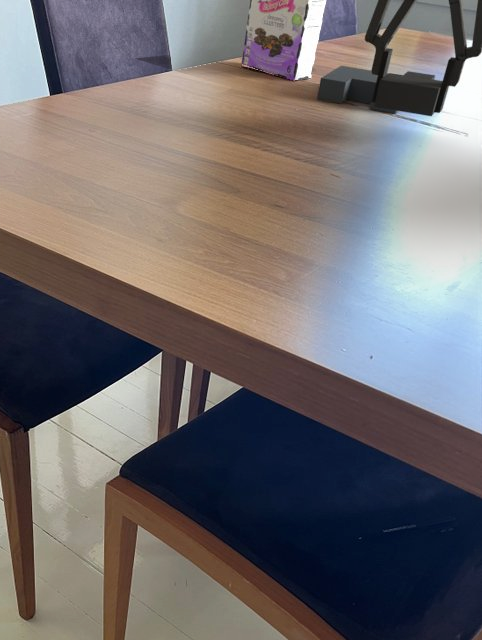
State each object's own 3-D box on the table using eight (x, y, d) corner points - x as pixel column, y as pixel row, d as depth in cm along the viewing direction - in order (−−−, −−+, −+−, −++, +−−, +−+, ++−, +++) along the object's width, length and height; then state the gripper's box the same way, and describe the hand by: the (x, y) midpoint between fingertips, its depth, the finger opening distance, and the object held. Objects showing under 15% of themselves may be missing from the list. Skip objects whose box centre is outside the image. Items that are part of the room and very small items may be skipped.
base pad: (410, 98, 135) (416, 77, 132) (395, 114, 124) (401, 91, 122) (336, 85, 139) (341, 65, 137) (316, 99, 129) (320, 77, 127)
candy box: (239, 67, 146) (252, -31, 136) (258, 64, 150) (272, -31, 140) (293, 82, 139) (312, -21, 129) (312, 79, 142) (331, -21, 132)
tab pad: (442, 103, 107) (449, 77, 105) (431, 116, 100) (439, 88, 98) (387, 94, 110) (394, 69, 108) (373, 107, 103) (380, 79, 101)
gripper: (367, -101, 90) (328, 98, 104) (547, -88, 84) (480, 123, 97) (380, -100, 96) (341, 89, 110) (550, -88, 89) (486, 112, 103)
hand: (406, 105), depth 104 cm, fingers closed on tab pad, 8 cm apart
